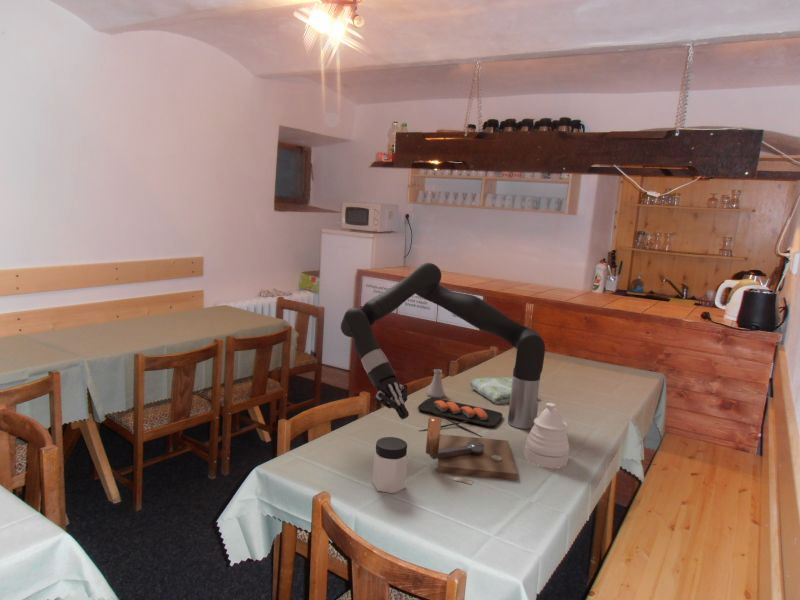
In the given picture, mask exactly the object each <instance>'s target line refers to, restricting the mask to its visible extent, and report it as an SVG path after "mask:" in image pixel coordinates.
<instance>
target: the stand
mask: <svg viewBox="0 0 800 600" xmlns="http://www.w3.org/2000/svg"><path fill="white" fill-rule="evenodd" d="M472 441H476V442H480V443H482V444H484V453H483V454H481V455H473V454H470V453H469V454H463V455H457V456H451V457H444V458H438V459H437V473H439V474H440V473H442V474H449V475H450V474H452V475H461V476H471V477H478V478H479V477H482V478H490V479H499V478H500V480H510V481H511V480H513V481H517V477H518V472H517V468H516V464H515V461H514V457H513V453H512V449H511V447H510V443H509V440H504V439H493V438H485V437H483V438H482V437H474V436H463V435H453V434H445V433H444V434H443V433H440V440H439V449H445V448H451V447H458V446H465V445H468V443H469V442H472ZM453 481H454V482H459V483H463V484H467V485H471V486H472V485H473V483H474V480H473V479H467V478H462V477H458V476H455V477H454V479H453Z"/></svg>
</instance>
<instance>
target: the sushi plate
mask: <svg viewBox="0 0 800 600" xmlns="http://www.w3.org/2000/svg"><path fill="white" fill-rule="evenodd" d="M417 409H418V410H419V411H422V412H425V413H429V414H434V415H437V416H438V417H439V418H440V417H441V419H445V421H448V422H450V423H449V424H445V425H441V429H442V428H445V427H450V426H457V427H459V428H461V429H462V430H464V431H466V432H468V433H471V434H473V435H475V436H477V437H479V438H482V437H483V436H482V435H480V434H478V433H477V432H475V431H473V430H470V429H468V428H466V427H464V426H462V425H460V424H463V423H467V422H468V423H471V424H472V423H473V424H477V425H481V426H486V427H487V426H488V427H494V426H496V425H497V424H498V423H499V422H500V421H501V420H502V418H503V413H502V412H500V411H496V410H492V409H488V408H484V407H479V406H474V405H470V404H465V403H461V402H456V401H452V400H447V399H444V398H443V399H442V398H436V397H428V398H426V399H425V400H424V401H423V402H421V403H420V404H419V405H418V406H417ZM446 417H448V418H450V419H448V418H446ZM451 419H454V420H459V421H458V422H454V421H452V420H451ZM426 430H427V431H428V428H425V429H421V430H419V432H427V431H426Z"/></svg>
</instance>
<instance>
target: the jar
mask: <svg viewBox="0 0 800 600" xmlns="http://www.w3.org/2000/svg"><path fill="white" fill-rule="evenodd" d="M407 452H408V443H407V442H406V441H405V440H404V439H402V438H400V437H395V436H385V437H381V438H379V439H378V440H377V441H376V443H375V449H374V452H373V463H372V464H373V465H372V466H373V467H372V480H371V482H372V484H373V486H374V487H375V489H376V491H377V492H381V491H382V492H383V493H387V492H388V493H387V494H395V493H398V492H400V491H401V490H404V489H405V488H406V484H407V481H406V480H407V471H408V459H409V454H407Z"/></svg>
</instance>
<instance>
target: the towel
mask: <svg viewBox="0 0 800 600" xmlns="http://www.w3.org/2000/svg"><path fill="white" fill-rule="evenodd" d="M512 378H513V377H510V376H509V377H508V376H505V377H476V378H474V379H472V380H471V382H470V387H471V388H472V389H473V390H475V391H476V392H477V393H479V395H481V396H483V397H485V398H486V399H487V400H489V401H491V402H492V403H493V404H495V405H501V404H510V396H511V387H512Z"/></svg>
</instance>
